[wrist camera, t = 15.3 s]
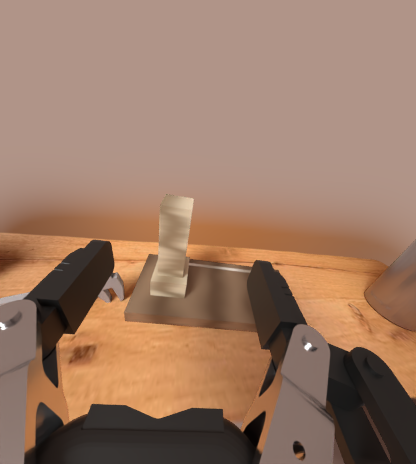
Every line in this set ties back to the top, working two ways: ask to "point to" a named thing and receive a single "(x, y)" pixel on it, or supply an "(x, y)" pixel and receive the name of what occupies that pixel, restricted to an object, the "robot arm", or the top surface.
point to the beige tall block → (172, 248)
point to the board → (197, 298)
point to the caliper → (105, 295)
